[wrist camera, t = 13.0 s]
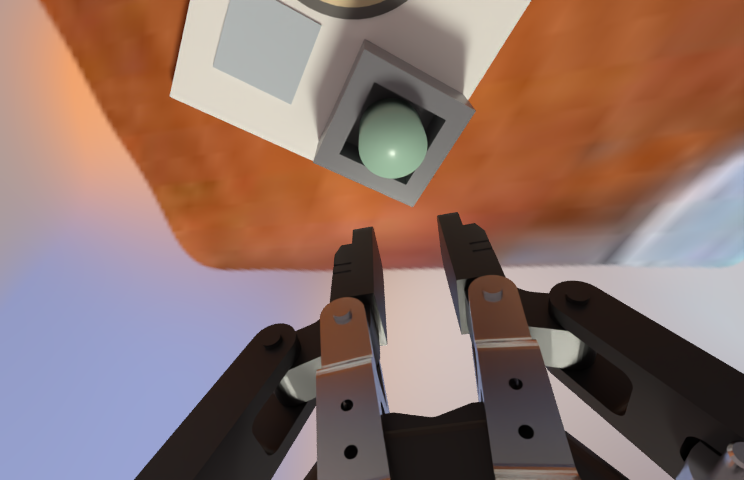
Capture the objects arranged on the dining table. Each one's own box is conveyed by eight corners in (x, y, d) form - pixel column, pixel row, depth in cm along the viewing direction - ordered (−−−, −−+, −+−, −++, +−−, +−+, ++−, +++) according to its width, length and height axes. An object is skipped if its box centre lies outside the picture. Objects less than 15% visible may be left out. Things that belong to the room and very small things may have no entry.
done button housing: (364, 38, 23) (364, 49, 20) (463, 94, 25) (475, 110, 22) (318, 141, 27) (312, 162, 24) (408, 182, 29) (412, 207, 26)
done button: (376, 86, 23) (378, 100, 20) (433, 116, 24) (440, 132, 21) (349, 143, 25) (347, 161, 22) (402, 168, 26) (405, 188, 23)
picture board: (274, -356, 16) (268, -377, 15) (588, -103, 20) (599, -106, 19) (175, 92, 26) (168, 97, 25) (402, 195, 30) (403, 202, 29)
